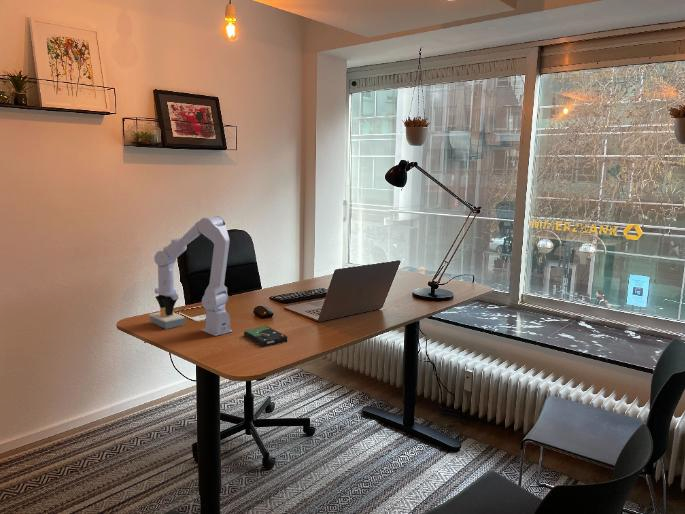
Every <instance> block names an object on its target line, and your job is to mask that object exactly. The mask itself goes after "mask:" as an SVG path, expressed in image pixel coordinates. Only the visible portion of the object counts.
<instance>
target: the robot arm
mask: <svg viewBox="0 0 685 514" xmlns="http://www.w3.org/2000/svg"><path fill="white" fill-rule="evenodd" d="M227 226H228V223H227V222H226V221H225V219H224V218H223V217H222V216H220V215H216V216H210V217H202V218H201V219H199V221H197V222H195V223H194V225H193V226H192V227H191V228H190V229H189V230H188V231H187V232H186V233H185V234H184V235H183V236H182V237H181V238H172V239H171V240H170V242H171V243H169V244H167V246H164V247H163V249H162V250H158V251H157V252H156V253H155V255H154V259H153V260H154V262H155V264H156V265H157V277H158V278H157V279H158V281H157V285H158V287H157V288H154V293H155V295H156V294H158V295H156V296H155V300H156V301H157V302H158V306H159V309H160V308H164V307H165V310H166V315H167V316H168V315H172V313H173V312H174V308H175V305H176V303H177V301H178V300H179V294H178V293H177V290H176V289H174V288H175V287H174V285H175V284H174V283H175V281H174V267H175V262H176V261H177V258H178V257H180V256H181V255H182V254H183V253H185V251H187V248H188V247H187V246H188V245H189V244H190V243H191V242H193V241H194V240H195V239H197V238H198V237H200V236H201V235H203V236H204V237H205V238H207V239H208V240H209V241H211V242H212V243H213V252H212V260H211V267H210V275H209V276H210V277H209V284H208V285H207V287H206V289H205V290H204V295H203V296H202V299H201V304H202V305H201V306H203V307H202V308H204V309H205V314H206V320H205V328H201V329H200V331H201V332H204V333H207V334H210V335H212V336H217V337H218V336H221V335H225V334H228V333H232V332H233V330H232V329H231V316H230V313H229V312H227V311H226V304H227V303H228V301H229V295H228V287H227V286H226V285H225V280H226V272H227V263H228V258H229V257H228V256H229V249H230V239H231V238H230V236H229V232H228V230H227Z"/></svg>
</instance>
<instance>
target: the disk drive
mask: <svg viewBox="0 0 685 514" xmlns="http://www.w3.org/2000/svg"><path fill="white" fill-rule="evenodd" d="M243 337H245V338H246V337H247V339H248V338H249V340H250V339H251V340H250V341H252V342H254V343H255V344H257V343H258V344H257V345H259V344H260V345H259V346H260V347H263V348H264V347H265V346H266V347H270V346H274V344H275V345H279V344H278V343H280V344H283V342H284V343H288V336H287V335H286V334H283V333H282V332H280V331H278V330H275V329H274V328H272V327H269V326H267V325H266V326H260V327H254V328H253V329H249V330H247V329H245V330H244V331H243ZM266 347H265V348H266Z"/></svg>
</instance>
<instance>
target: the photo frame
mask: <svg viewBox="0 0 685 514" xmlns="http://www.w3.org/2000/svg"><path fill="white" fill-rule="evenodd" d="M201 306H202V305H199V306H198V307H199V308H202V307H201ZM196 307H197V306H194V307H193V308H194V309H197V308H196ZM191 308H192V307H190V308H188V309H189V310H192V309H191ZM184 309H185V310H184V311H187V310H186V309H187V308H184ZM177 313H178V312H177ZM177 313H176V314H177ZM180 314H182V315H184V316H186V317H185V318H187V317H188V318H187V319H189V318H190V319H189V320H191V319H192V321H194V322H196V321H198V322H202V321H206V320H205V319H206V313H205V314H201V315H197V316H189V315H186V314H184V313H182V312H181V311H179V315H180ZM201 320H202V321H201Z"/></svg>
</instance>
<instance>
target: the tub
mask: <svg viewBox="0 0 685 514" xmlns="http://www.w3.org/2000/svg"><path fill="white" fill-rule="evenodd" d="M149 322H152V323H154V324H156V325H158V326H157V327H159V326H160V327H159V328H161V327H162V328H161V329H163V328H165V329H167V330H170V329H169V328H171V329H174V328H173V327H176V328H179V327H178V326H180V327H183V326H182V325H184V326H185V318H184V319H179V320H175V321H170V322H163V321H161V320H158V319H156V318H154V317H151V316H149ZM152 323H151V324H152ZM154 324H153V325H154ZM156 325H155V326H156ZM165 329H164V330H165Z"/></svg>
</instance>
